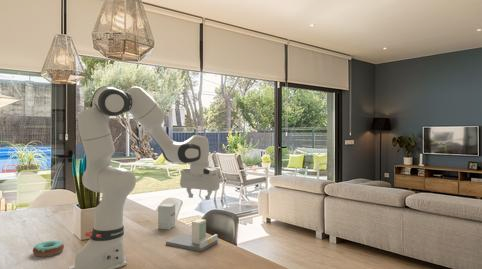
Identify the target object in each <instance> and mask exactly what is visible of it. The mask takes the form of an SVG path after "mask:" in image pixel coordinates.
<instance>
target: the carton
mask: <svg viewBox="0 0 482 269" xmlns="http://www.w3.org/2000/svg"><path fill="white" fill-rule="evenodd" d="M191 235H192V243H195V244H200V242H202V241H204V240H205V239H206V238H207V219H204V218H203V219H202V218H197V219H195V220H193V221H191Z"/></svg>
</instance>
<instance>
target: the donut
mask: <svg viewBox="0 0 482 269" xmlns="http://www.w3.org/2000/svg"><path fill="white" fill-rule="evenodd" d="M64 248H65V245H64V243H63V242H62V241H58V240H49V241H43V242H40V243H37V244H36V245H34V246H33V248H32V253H33V255H34V256H36V257H40V258H44V257H45V258H46V257H47V258H48V257H51V256H52V257H53V256H56V255H58V254H59V253H61V252H63V250H64Z"/></svg>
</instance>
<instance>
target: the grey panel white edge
mask: <svg viewBox="0 0 482 269" xmlns="http://www.w3.org/2000/svg"><path fill="white" fill-rule="evenodd" d="M217 243H218V234H217V233H215V234H213V235H212V236H209V237H206V239H205V240H204V241H202V242H200V244H195V243H192V234H189V233H181V234H180V235H177V236H175V237H173V238H170V239H168V240H166V241H165V245H166V246H172V247H176V248H182V249H187V250H191V251H195V252H196V251H197V252H204V251H205V250H208V249H209V248H210V247H212V246H215V245H216V244H217Z"/></svg>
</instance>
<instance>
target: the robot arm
mask: <svg viewBox="0 0 482 269" xmlns="http://www.w3.org/2000/svg"><path fill="white" fill-rule="evenodd" d="M89 104H90V105H89V107H87V108H85V109H83V110H82V111H80V112H79V114H78V115H77V123H78V130H79V135H80V139H81V143H82V146H83V151H84V154H85V158H86V159H85V160H86V168H85V170H84V172H83V174H82V177H81V182H82V185H83V186H84V187H85V188H86V189H88V190H89V191H92V192H94V193H99V194H102V195H101V200H100V202H99V203H98V204H97V206H95V208H94V211H93V228H92V231H89V230H86V231H85V233H84V236H85V237H89V240H88V241H87V242H86V243H85V244H84V245H83V246H82V247H81V248H80V249H79V251H77V253H76V255H75V257H74V258H75V259H74V264H72V265H70V266H69V267H68V269H118V268H121V267H124V266H126V265H127V263H128V262H127V259H128V258H127V255H126V250H125V243H124V234H125V228H124V226H125V225H124V224H123V222H124V207H125V206H124V205H125V202H126V200H127V198H128V196H129V195H130V193H132V192H133V191H134V189H135V188H136V185H137V184H136V183H137V178H136V174H135V173H134V172H132V171H131V170H129V169H126V168H123V167H114V166H112V156H114V154H115V152H116V148H115V144H114V140H113V136H112V133H111V129H110V126H109V125H110V124H109V119H110V117H116V116H119V115H122V114H125V113H127V112H129V113H130V114H131V115H132V117H134V119H136V121H137V122H138V123H139V124H140V125H141V126H142V127H143V129H144V130H146V132H147V133H148V134H149V135H150V137H151V138H152V140H154V142H155V143H156V144H157V146H158V147H159V148H160V150H161V153H162V156H163V158H164V160H165V161H166V162H168V163H172V164H175V163H176V164H177V163H178V164H189V168H186V167H185V168H183V169H182V170H181V171H180V172H181V173H180V180H179V186H180V187H181V188H182V189H183V188H184V189H186V193H187V194H188V198H189V199H193V198H194V193H192V189H194V190H204V191H207V195H205V196H204V198H205V199H204V200H207V201H209V200H210V199H211V195H212V193H213V191H214V192H216V191H218V190H219V189H220V177H219V175H218V174H219V169H217V167H216V168H215V167H213V166H212V165H210V161H209V156H210V142H209V139H208V137H207V136H205V135H199V134H193V135H192V136H191V137H189V138H188V139H187V140H186V139H185V140H184V141H182V142H181V141H175V140H173V139H172V138H171V137H170V136H169V134H167V132H166V131H165V130H164V128H163V126H162V124H163V123H164V121H165V112H164V111H163V109H162V107H161V106H160V105H159V103H158V102H157V101H156V100H155V99H154V98H153V96H151V95H150V94H149V93H148V92H147V91H145V89H143V88H142V87H141V86H132V87H130V88H128V89H127V90H125V91H124V90H121V89H120V88H119V89H118V88H117V87H114V86H108V85H107V86H106V85H105V86H101V87H99V88H97V89H96V90H95V91H94V93H93V95H92V98H91V101H90V103H89Z"/></svg>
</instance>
